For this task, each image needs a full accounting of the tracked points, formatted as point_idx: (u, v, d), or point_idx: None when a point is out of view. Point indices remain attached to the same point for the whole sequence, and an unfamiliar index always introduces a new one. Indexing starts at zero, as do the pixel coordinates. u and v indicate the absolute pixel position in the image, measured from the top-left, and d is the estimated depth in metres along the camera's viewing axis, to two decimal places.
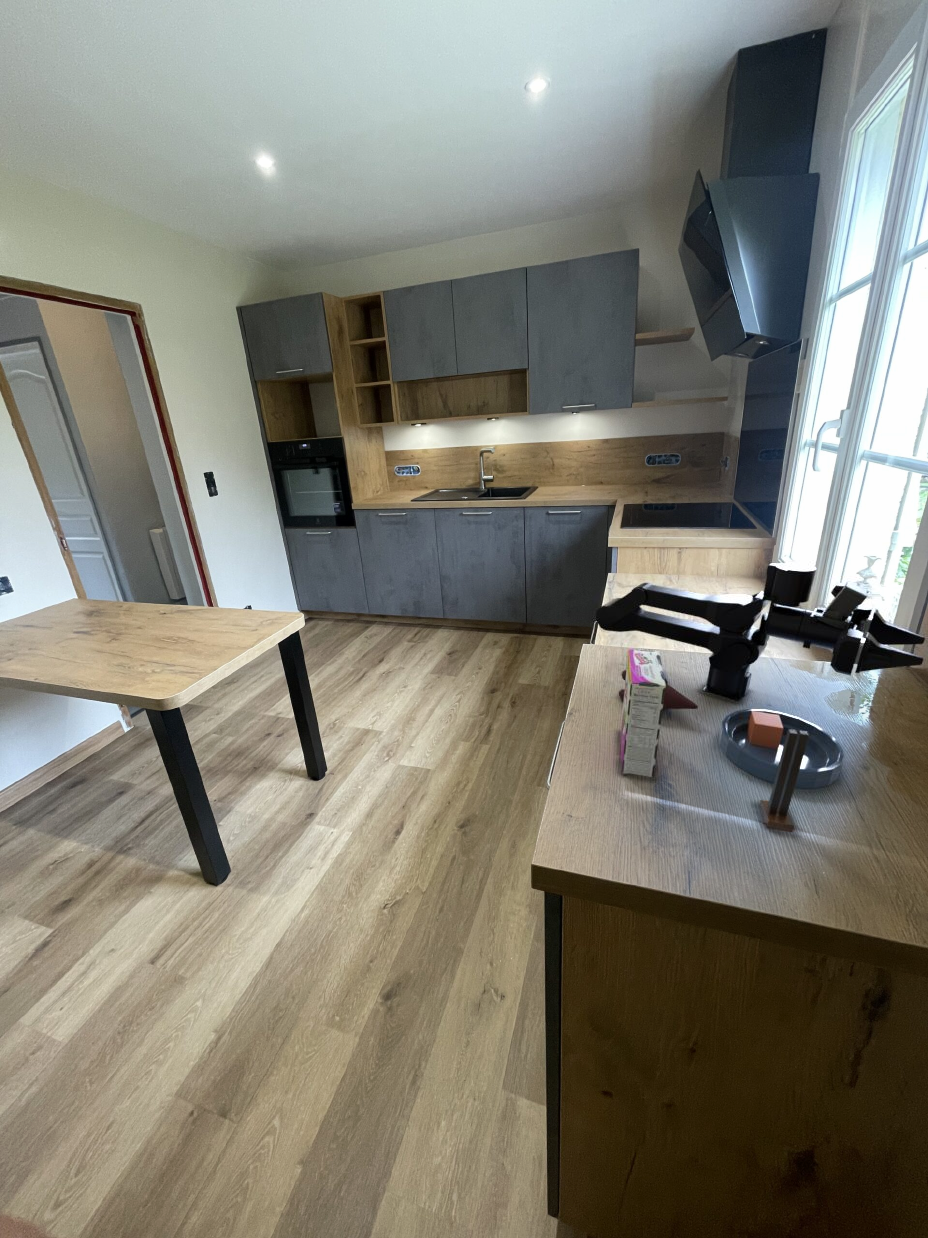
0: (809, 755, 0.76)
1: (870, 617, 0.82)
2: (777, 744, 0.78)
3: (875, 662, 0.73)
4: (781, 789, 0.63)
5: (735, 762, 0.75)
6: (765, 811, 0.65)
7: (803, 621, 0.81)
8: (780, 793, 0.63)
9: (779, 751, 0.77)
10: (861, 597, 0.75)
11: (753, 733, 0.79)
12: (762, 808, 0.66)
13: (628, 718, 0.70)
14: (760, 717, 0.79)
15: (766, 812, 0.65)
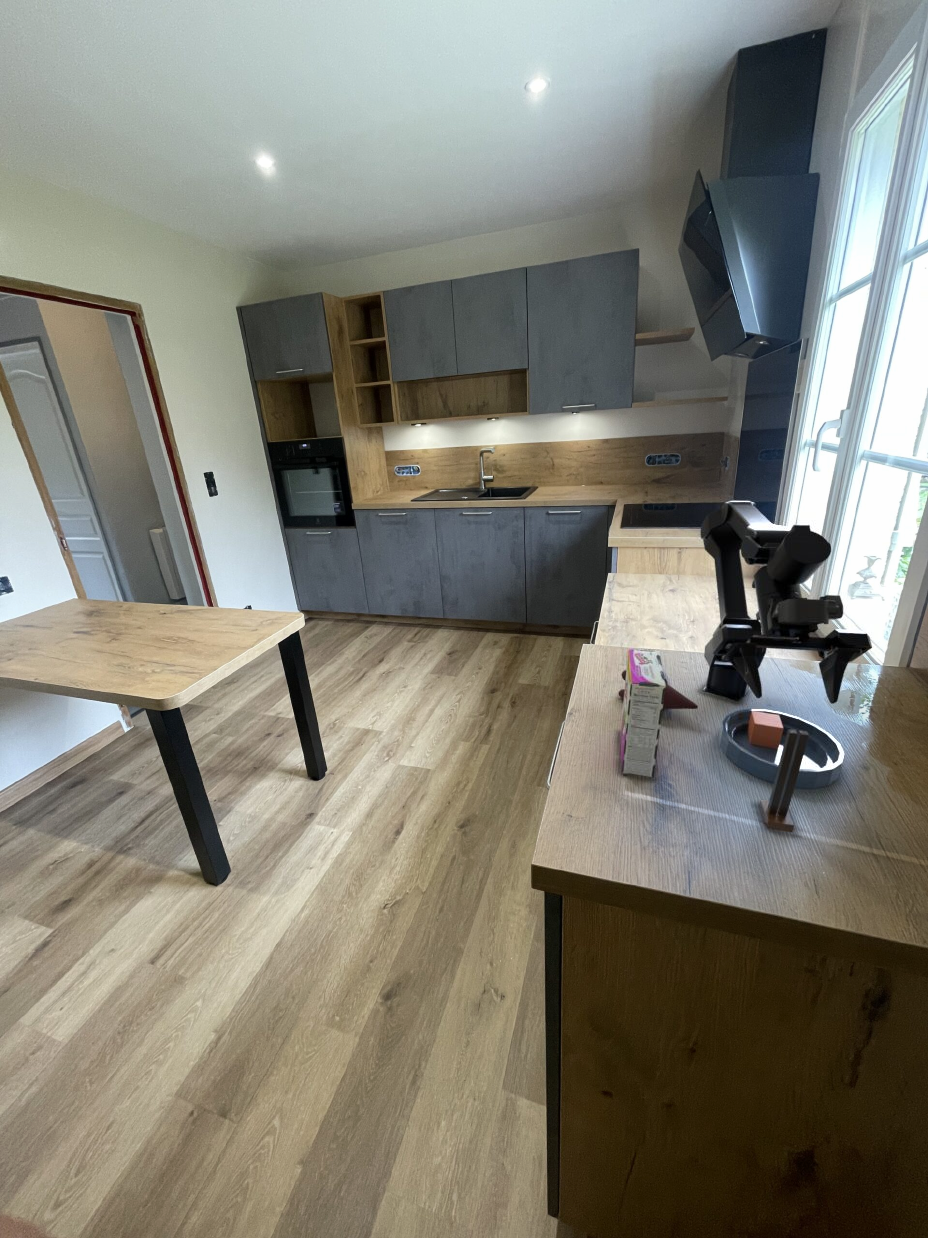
0: (809, 755, 0.76)
1: None
2: (777, 744, 0.78)
3: (740, 666, 0.71)
4: (781, 789, 0.63)
5: (735, 762, 0.75)
6: (765, 811, 0.65)
7: (767, 595, 0.72)
8: (780, 793, 0.63)
9: (779, 751, 0.77)
10: (791, 618, 0.64)
11: (753, 733, 0.79)
12: (762, 808, 0.66)
13: (628, 718, 0.70)
14: (760, 717, 0.79)
15: (766, 812, 0.65)
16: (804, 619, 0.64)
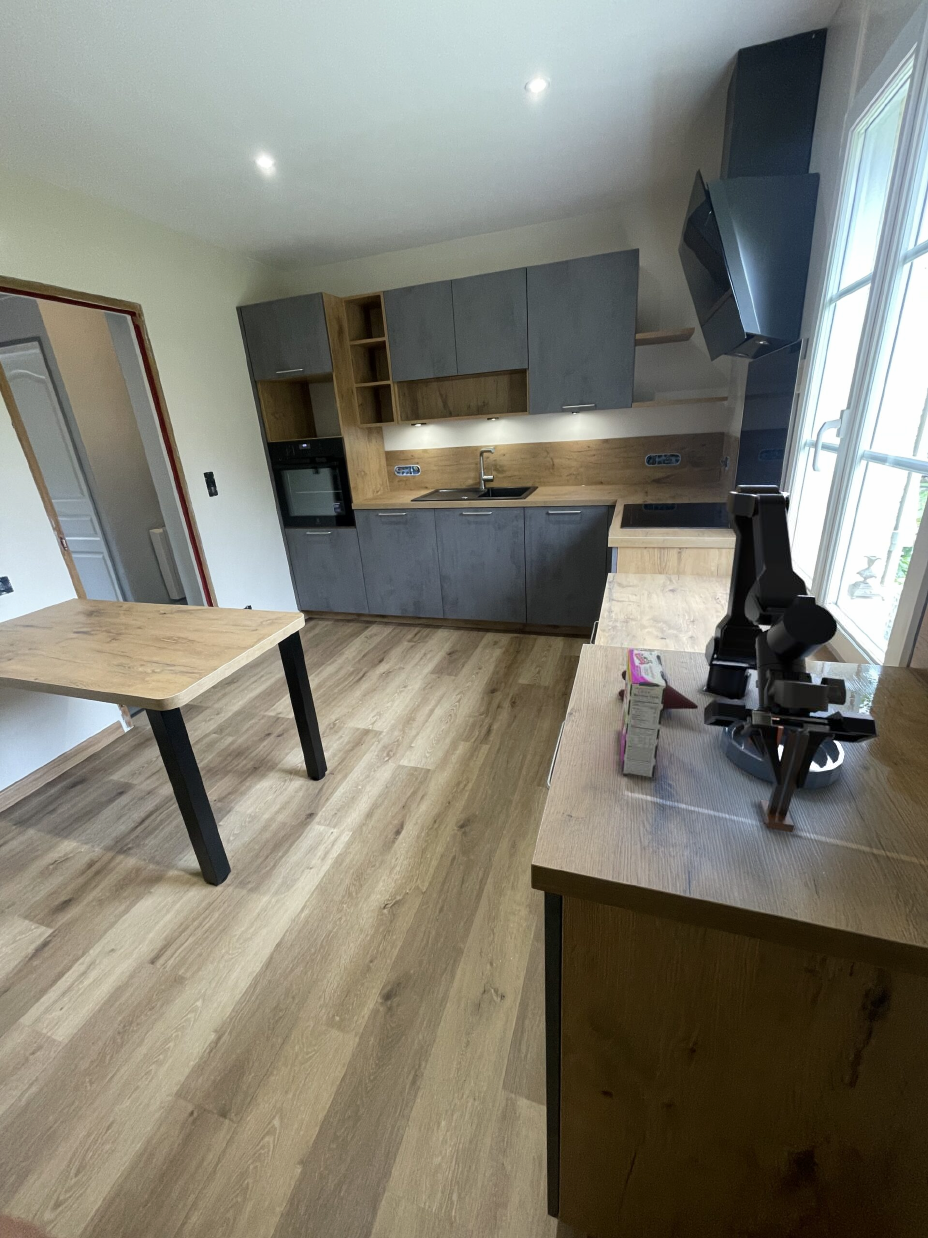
0: None
1: (819, 732, 0.62)
2: (777, 744, 0.78)
3: (760, 745, 0.65)
4: (781, 789, 0.63)
5: (735, 762, 0.75)
6: (765, 811, 0.65)
7: (766, 666, 0.66)
8: (780, 793, 0.63)
9: (779, 751, 0.77)
10: (786, 703, 0.59)
11: None
12: (762, 808, 0.66)
13: (628, 718, 0.70)
14: None
15: (766, 812, 0.65)
16: (800, 706, 0.58)
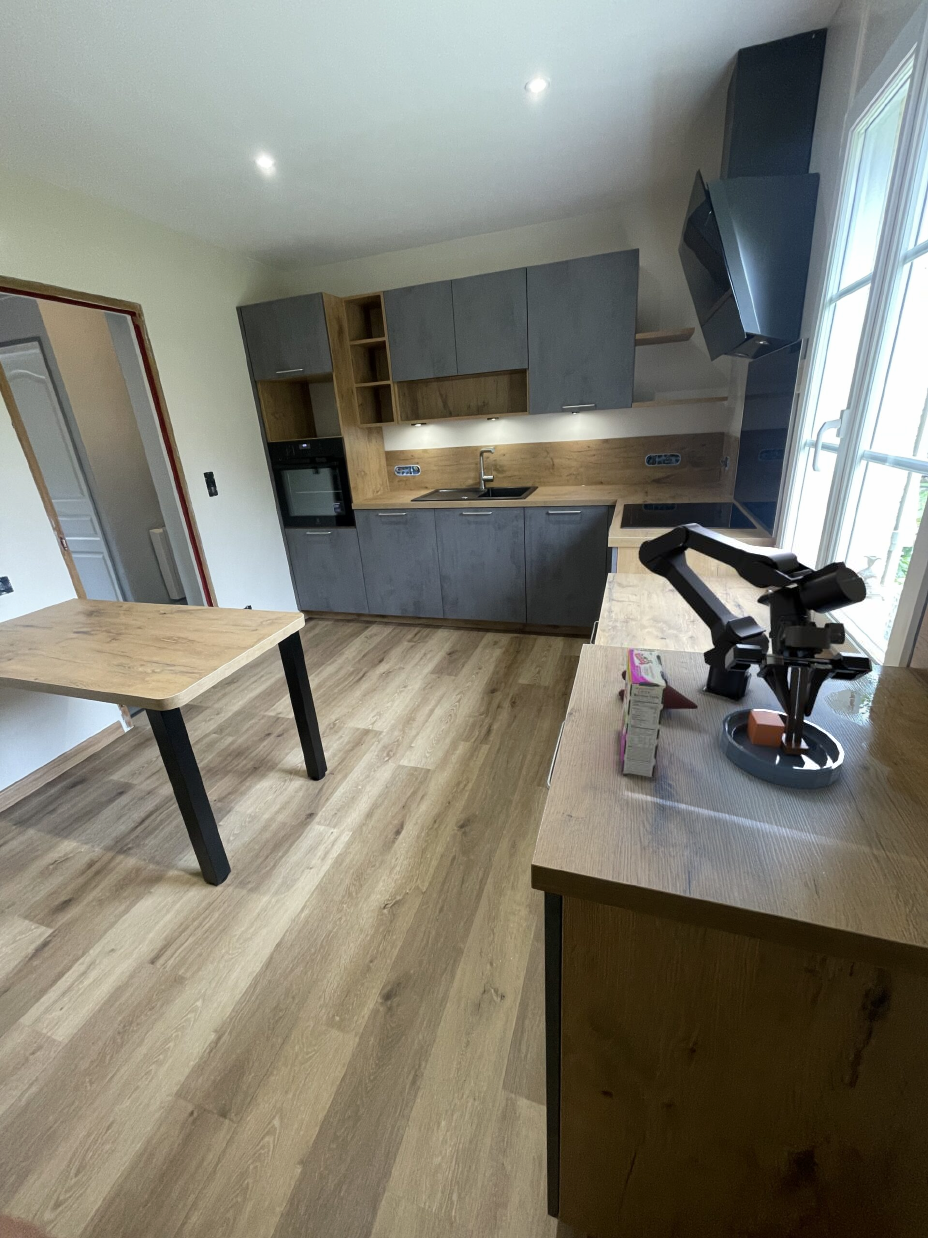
0: (809, 755, 0.76)
1: None
2: (779, 742, 0.78)
3: (773, 684, 0.78)
4: (793, 719, 0.75)
5: (735, 762, 0.75)
6: (783, 741, 0.77)
7: (778, 618, 0.79)
8: (793, 723, 0.76)
9: (779, 751, 0.77)
10: (795, 643, 0.71)
11: (755, 733, 0.78)
12: None
13: (628, 718, 0.70)
14: (760, 716, 0.80)
15: (784, 741, 0.77)
16: (807, 645, 0.71)
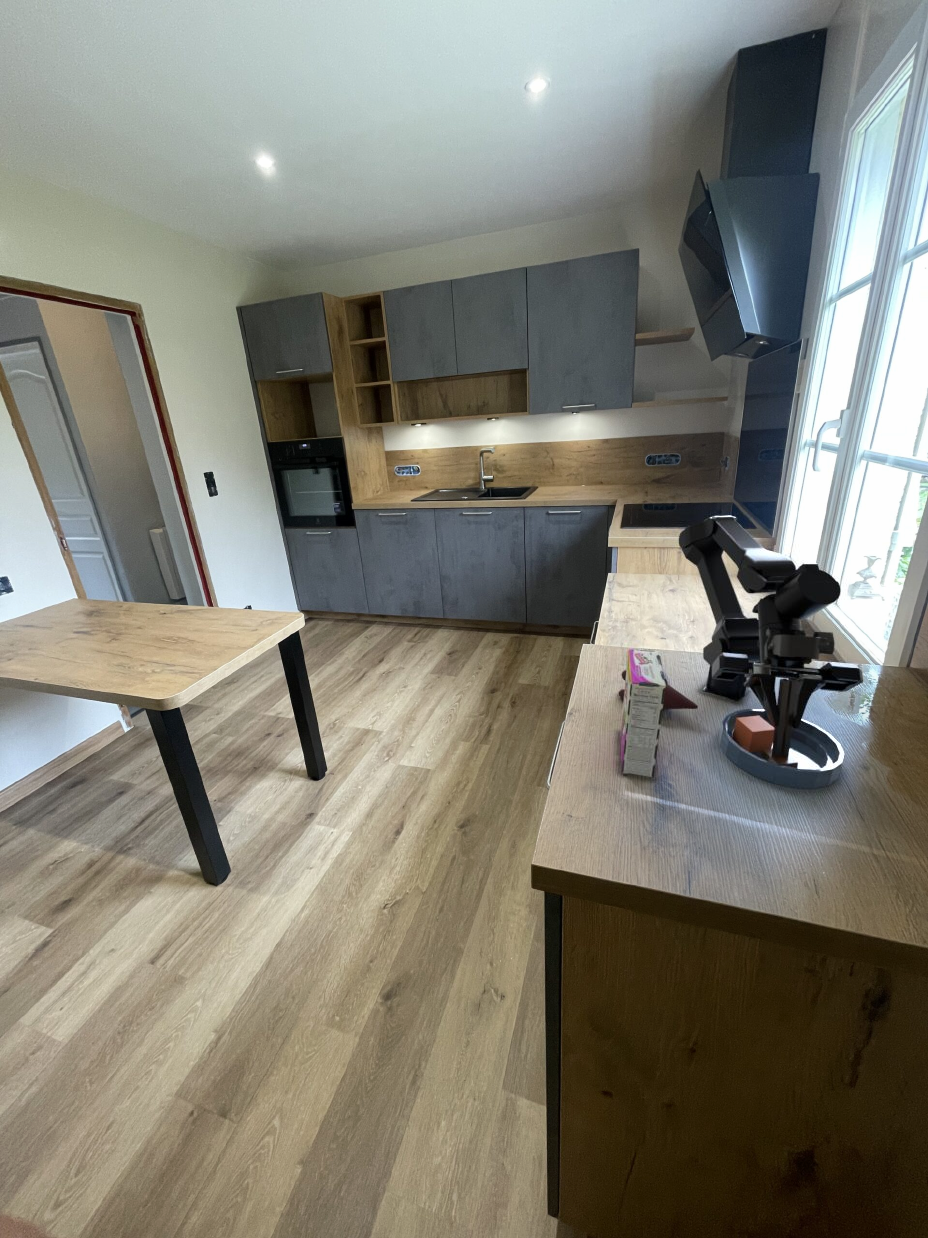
0: (809, 755, 0.76)
1: None
2: (748, 747, 0.77)
3: (760, 694, 0.75)
4: (782, 733, 0.72)
5: (735, 762, 0.75)
6: (771, 757, 0.74)
7: (766, 626, 0.76)
8: (781, 737, 0.72)
9: None
10: (783, 652, 0.69)
11: (735, 728, 0.80)
12: (767, 755, 0.75)
13: (628, 718, 0.70)
14: (753, 719, 0.79)
15: (772, 757, 0.74)
16: (795, 655, 0.68)
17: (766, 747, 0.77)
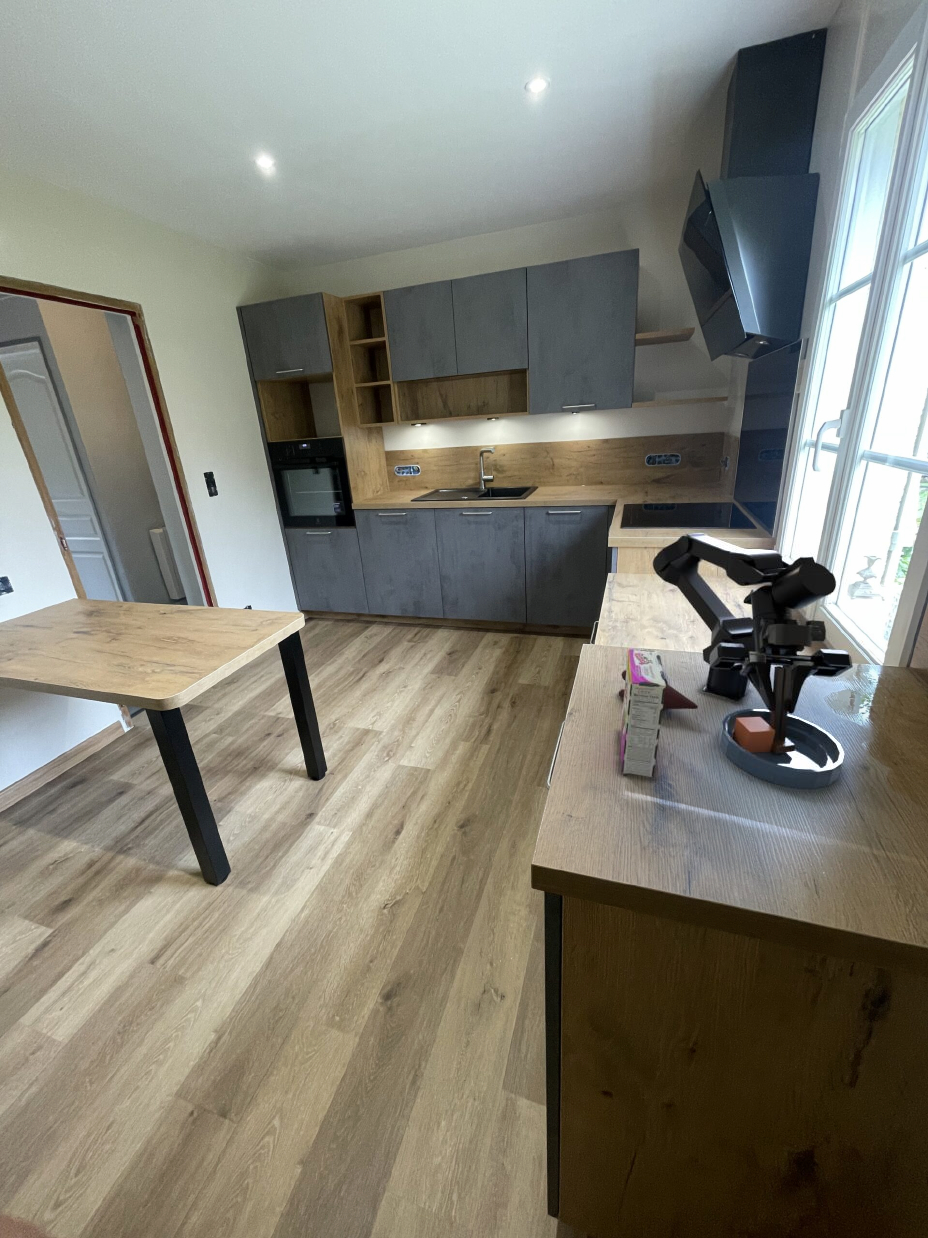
0: (809, 755, 0.76)
1: None
2: (745, 747, 0.77)
3: (756, 681, 0.79)
4: (778, 718, 0.76)
5: (735, 762, 0.75)
6: None
7: (760, 616, 0.80)
8: (778, 722, 0.76)
9: None
10: (778, 641, 0.72)
11: (734, 728, 0.80)
12: None
13: (628, 718, 0.70)
14: (753, 720, 0.79)
15: None
16: (789, 643, 0.72)
17: (764, 748, 0.77)
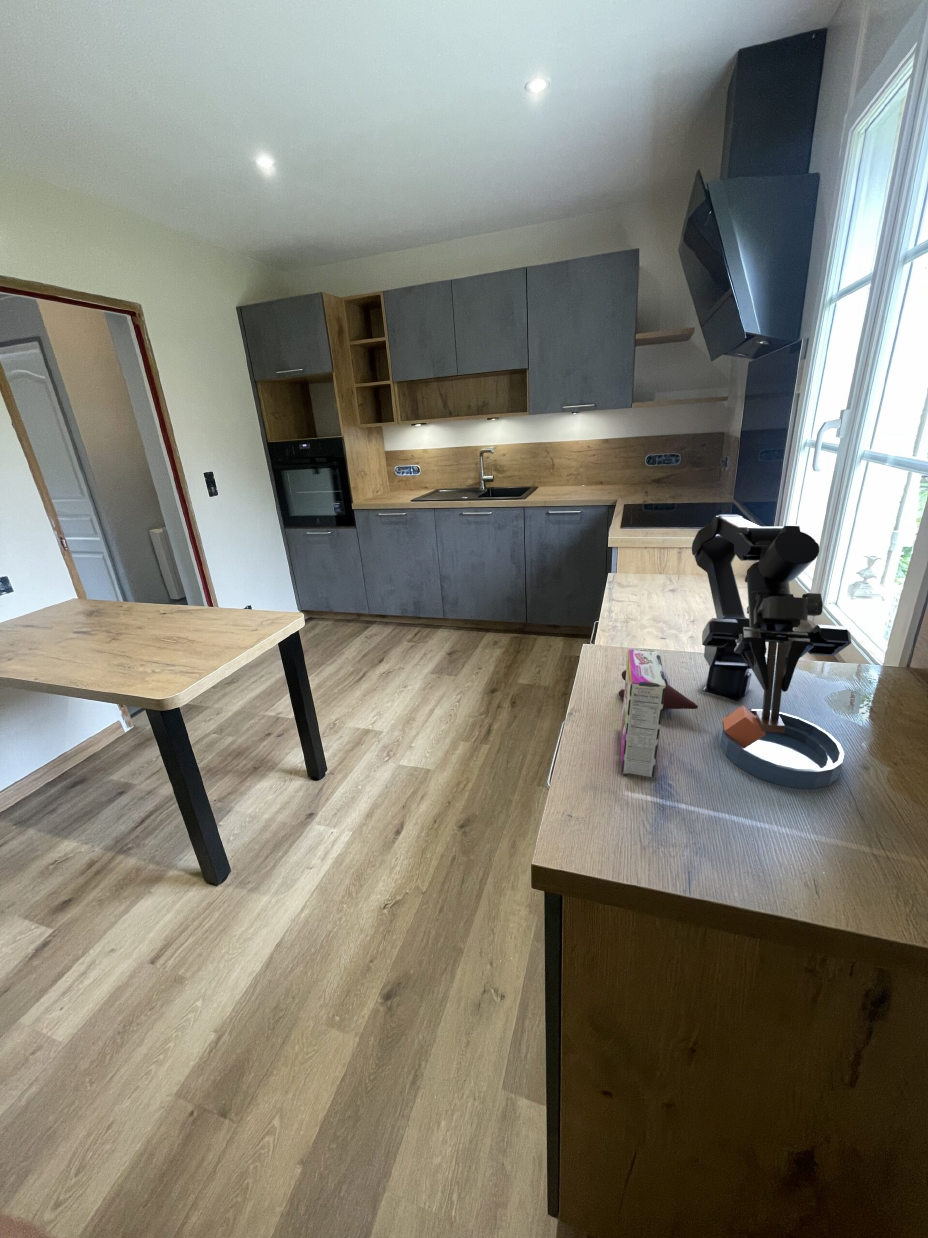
0: (809, 755, 0.76)
1: None
2: (739, 744, 0.77)
3: (750, 659, 0.75)
4: (770, 695, 0.73)
5: (735, 762, 0.75)
6: (760, 718, 0.75)
7: (755, 591, 0.76)
8: (770, 699, 0.73)
9: (779, 751, 0.77)
10: (772, 614, 0.69)
11: None
12: (757, 717, 0.76)
13: (628, 718, 0.70)
14: (734, 714, 0.78)
15: (760, 719, 0.75)
16: (783, 615, 0.68)
17: (756, 735, 0.75)
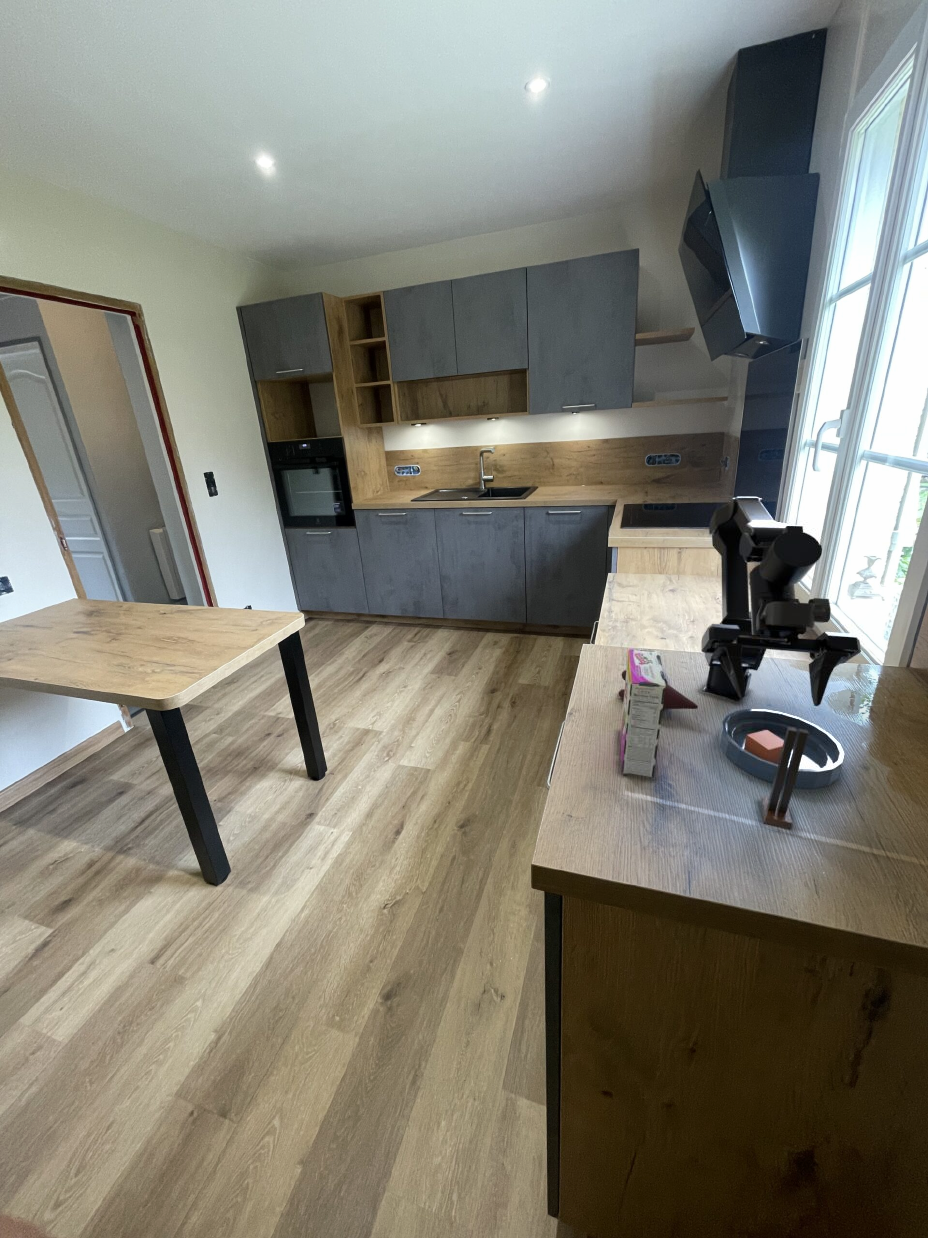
0: (809, 755, 0.76)
1: None
2: None
3: (727, 665, 0.72)
4: (780, 786, 0.63)
5: (735, 762, 0.75)
6: (764, 808, 0.65)
7: (758, 595, 0.72)
8: (779, 790, 0.64)
9: None
10: (776, 620, 0.64)
11: None
12: (762, 805, 0.66)
13: (628, 718, 0.70)
14: (774, 739, 0.74)
15: (765, 809, 0.65)
16: (788, 622, 0.64)
17: None
